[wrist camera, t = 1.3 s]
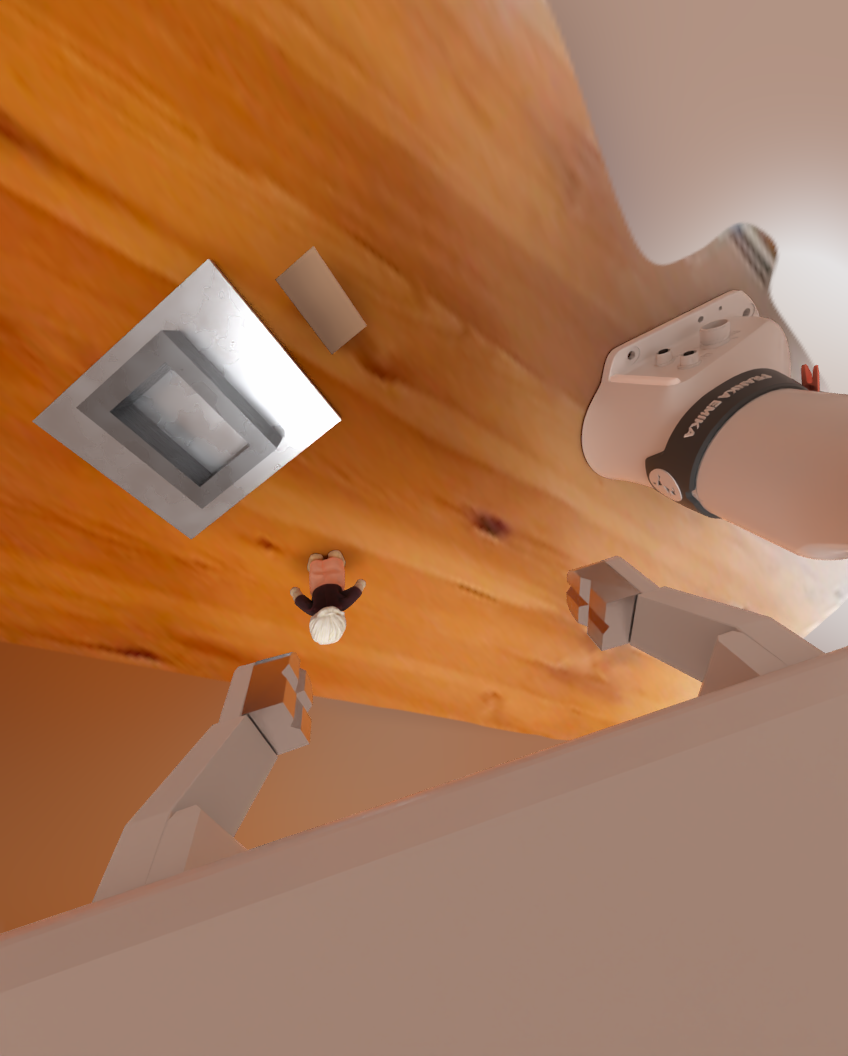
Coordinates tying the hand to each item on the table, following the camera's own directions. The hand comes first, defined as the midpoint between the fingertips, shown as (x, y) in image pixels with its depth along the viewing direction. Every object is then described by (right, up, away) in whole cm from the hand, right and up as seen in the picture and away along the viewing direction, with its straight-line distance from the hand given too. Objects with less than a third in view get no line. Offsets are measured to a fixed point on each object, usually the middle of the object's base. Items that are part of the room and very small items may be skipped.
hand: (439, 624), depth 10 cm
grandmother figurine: (-12, -1, +33) cm, 35 cm away
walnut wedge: (-9, +22, +21) cm, 31 cm away
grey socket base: (-21, +13, +23) cm, 34 cm away
